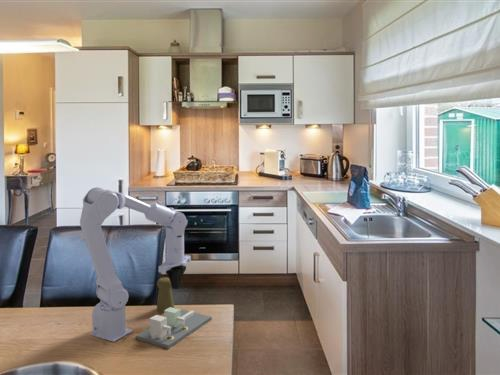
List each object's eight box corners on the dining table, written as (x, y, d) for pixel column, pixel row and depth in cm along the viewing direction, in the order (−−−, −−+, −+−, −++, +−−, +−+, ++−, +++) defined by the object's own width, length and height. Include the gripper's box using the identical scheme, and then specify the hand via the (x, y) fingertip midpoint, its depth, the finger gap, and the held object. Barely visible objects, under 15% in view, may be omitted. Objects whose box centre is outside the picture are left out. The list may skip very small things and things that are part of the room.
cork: (172, 313, 152) (172, 281, 150) (154, 313, 152) (153, 281, 150) (175, 306, 158) (175, 275, 156) (158, 306, 158) (157, 275, 156)
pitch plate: (136, 338, 133) (135, 318, 133) (181, 312, 153) (181, 294, 152) (168, 348, 128) (168, 327, 127) (211, 319, 147) (211, 301, 146)
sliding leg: (164, 325, 139) (164, 310, 139) (170, 321, 142) (170, 307, 141) (181, 329, 136) (181, 314, 136) (187, 326, 139) (187, 311, 138)
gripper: (171, 255, 139) (171, 297, 141) (198, 244, 151) (198, 283, 153) (152, 251, 142) (153, 293, 144) (181, 241, 155) (181, 279, 156)
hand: (175, 288), depth 149 cm, fingers closed
